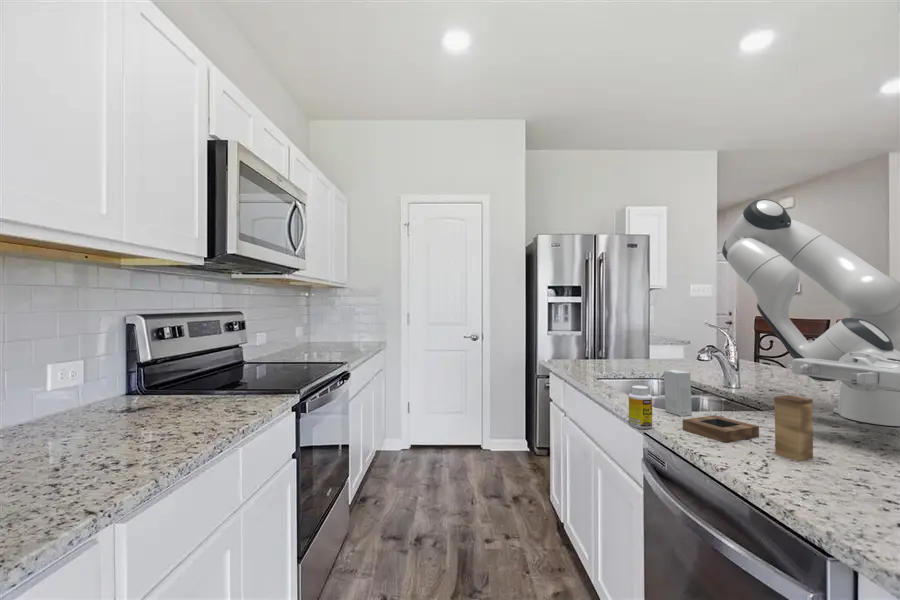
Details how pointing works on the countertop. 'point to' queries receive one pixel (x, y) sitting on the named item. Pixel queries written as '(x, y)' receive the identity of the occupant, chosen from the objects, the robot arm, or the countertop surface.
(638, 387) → the supplement bottle
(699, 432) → the wooden square frame
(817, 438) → the countertop surface
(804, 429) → the peg
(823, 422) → the countertop surface
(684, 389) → the skincare box
